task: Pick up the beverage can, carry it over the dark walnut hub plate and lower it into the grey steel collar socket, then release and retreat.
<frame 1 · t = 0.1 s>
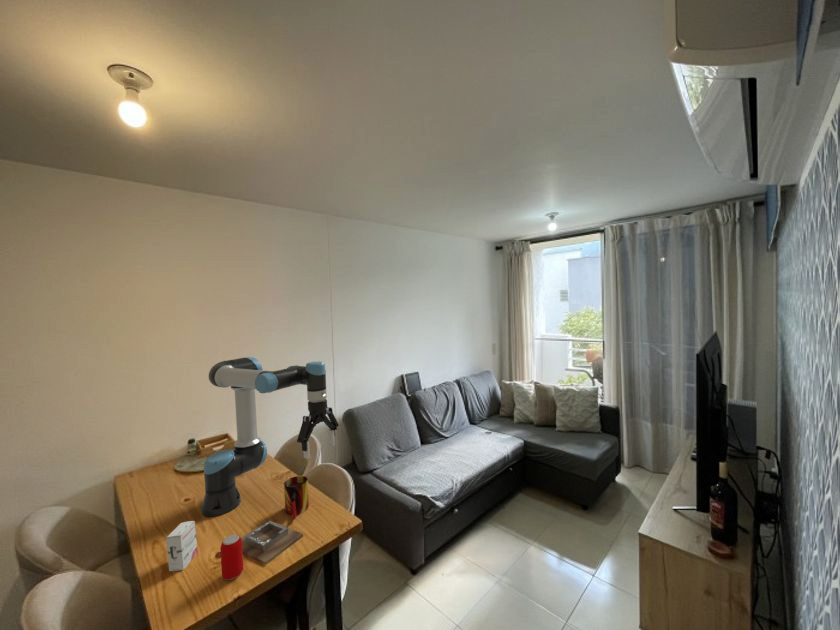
hand: (319, 451, 137), 28 cm above the table, fingers open, 13 cm apart
mug: (299, 511, 144), on the table
steel collar: (267, 535, 125), on the walnut hub plate, point 2 cm above the table
walnut hub plate: (267, 541, 125), on the table
ink box: (183, 562, 117), on the table
beverage can: (233, 575, 110), on the table
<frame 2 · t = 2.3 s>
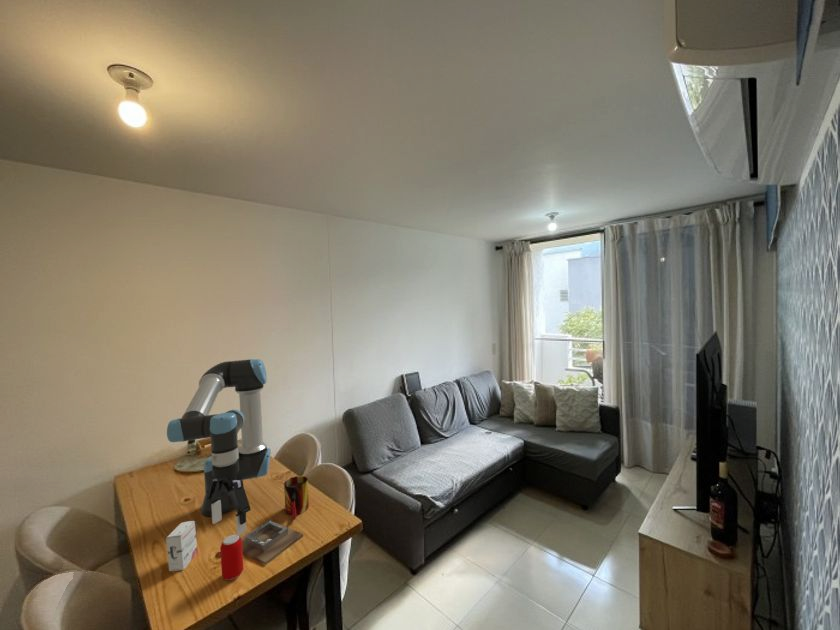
hand: (229, 527, 109), 16 cm above the table, fingers open, 13 cm apart
nothing on the table moved.
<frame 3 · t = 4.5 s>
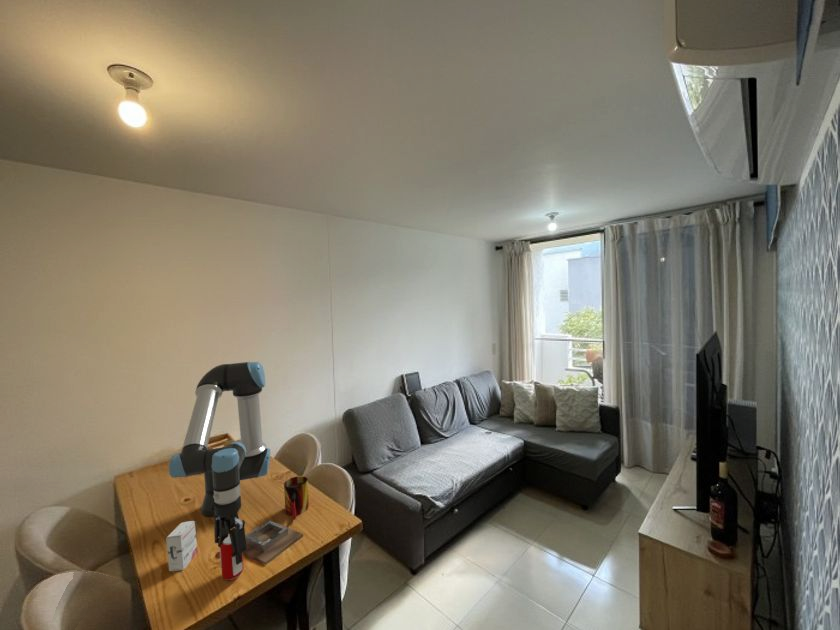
hand: (231, 568, 109), 2 cm above the table, fingers closed on beverage can, 6 cm apart
beverage can: (233, 575, 110), on the table, touching gripper
everything else where it was.
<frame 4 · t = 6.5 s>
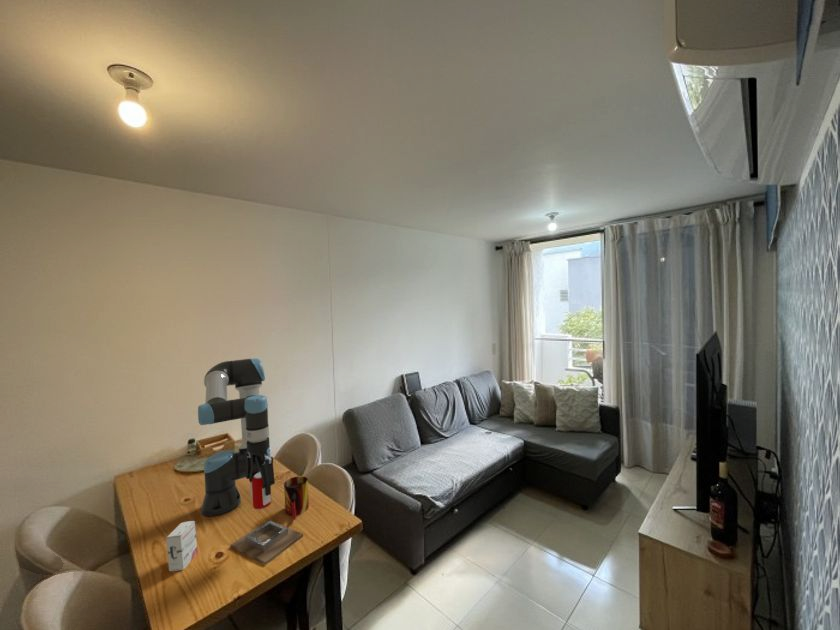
hand: (261, 500, 124), 16 cm above the table, fingers closed on beverage can, 6 cm apart
beverage can: (262, 507, 124), point 14 cm above the table, touching gripper
everything else where it was.
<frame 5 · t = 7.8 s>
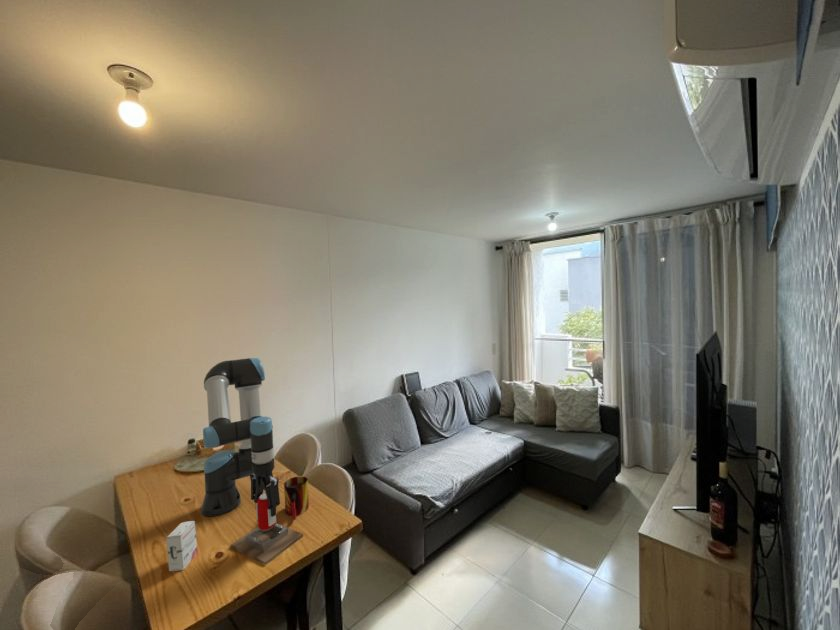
hand: (266, 521, 125), 8 cm above the table, fingers closed on beverage can, 6 cm apart
beverage can: (267, 527, 126), point 5 cm above the table, touching gripper
everything else where it was.
when the fingers open (5 cm above the table, at t = 8.5 s): beverage can drops 2 cm, resting on walnut hub plate.
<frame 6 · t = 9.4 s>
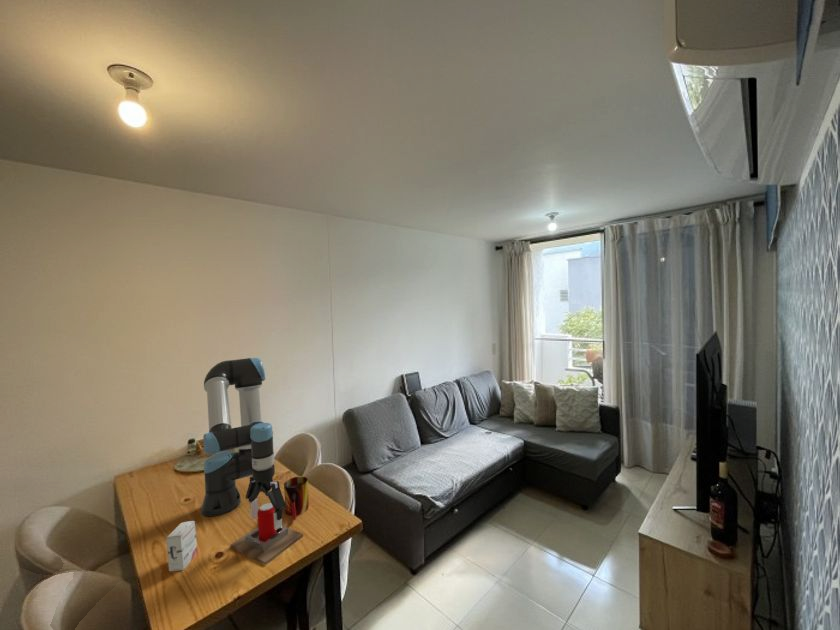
hand: (266, 522, 125), 7 cm above the table, fingers open, 13 cm apart
beverage can: (268, 538, 126), point 1 cm above the table, touching walnut hub plate
everything else where it was.
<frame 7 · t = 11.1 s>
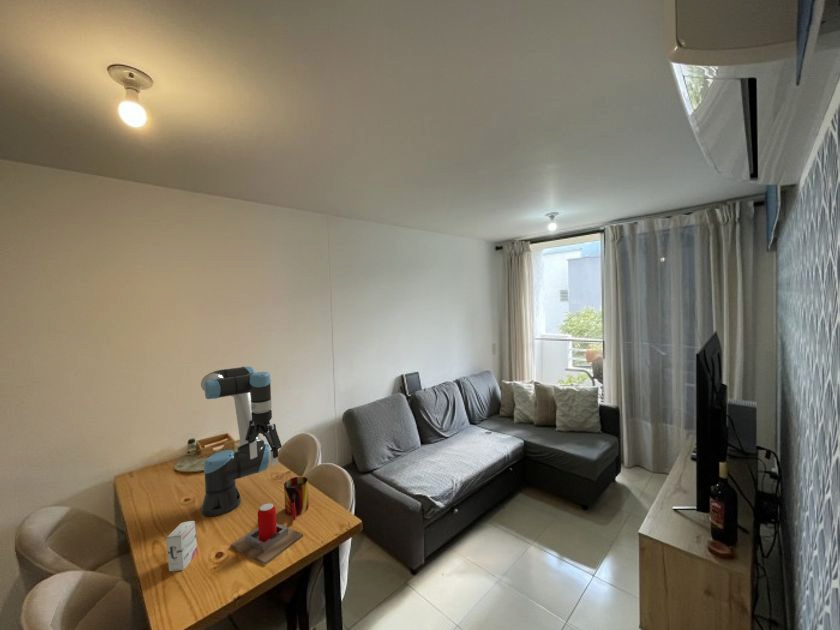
hand: (263, 461, 138), 25 cm above the table, fingers open, 13 cm apart
nothing on the table moved.
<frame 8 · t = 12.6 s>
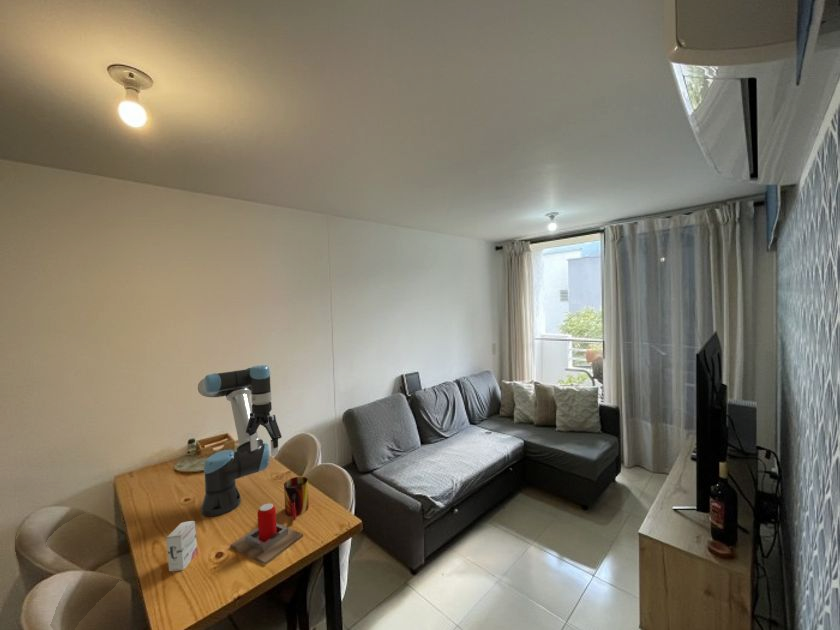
hand: (264, 452, 142), 27 cm above the table, fingers open, 13 cm apart
nothing on the table moved.
at the end: beverage can 0.4 cm from the steel collar (horizontally); beverage can tilted 0°; the gripper is holding nothing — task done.
